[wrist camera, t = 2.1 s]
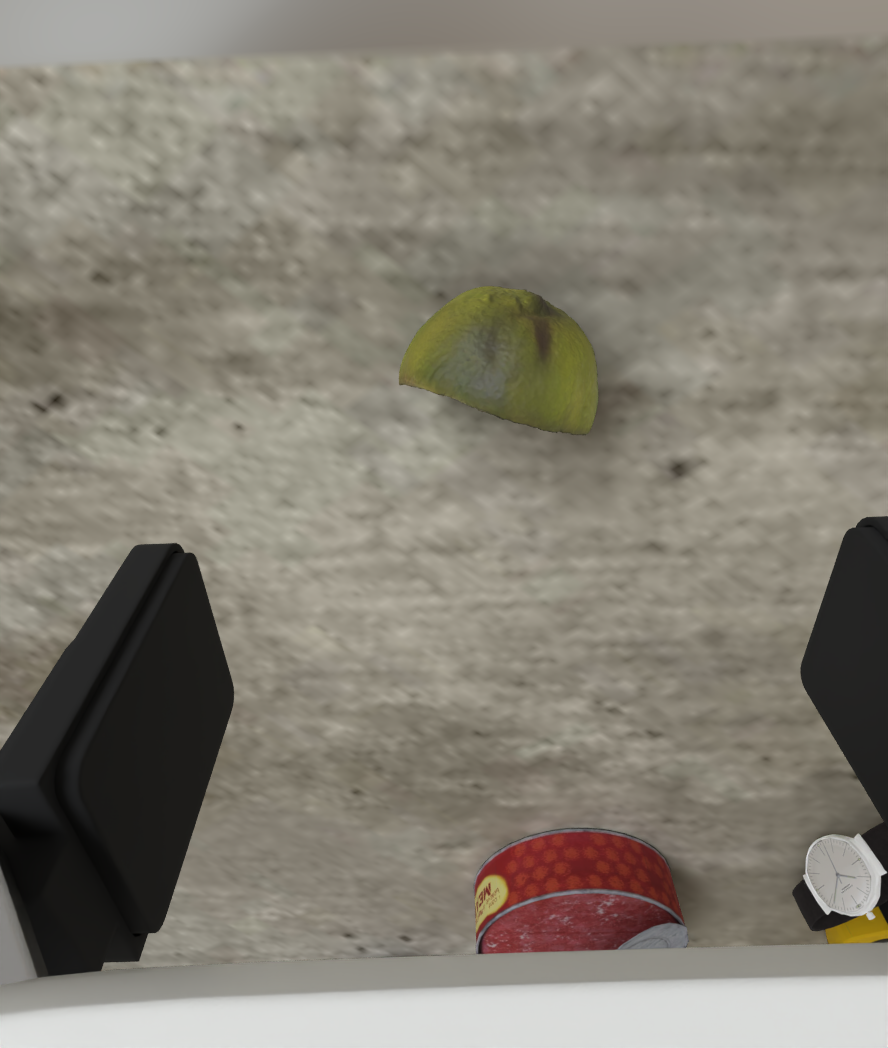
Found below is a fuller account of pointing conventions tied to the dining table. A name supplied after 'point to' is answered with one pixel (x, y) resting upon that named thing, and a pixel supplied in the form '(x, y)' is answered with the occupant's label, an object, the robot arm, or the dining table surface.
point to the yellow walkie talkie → (862, 928)
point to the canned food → (576, 895)
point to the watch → (844, 878)
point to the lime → (507, 360)
